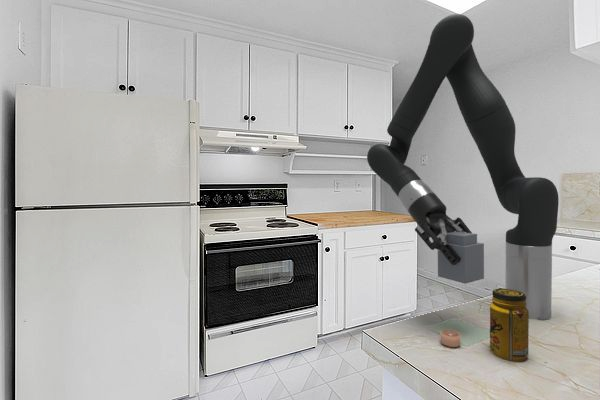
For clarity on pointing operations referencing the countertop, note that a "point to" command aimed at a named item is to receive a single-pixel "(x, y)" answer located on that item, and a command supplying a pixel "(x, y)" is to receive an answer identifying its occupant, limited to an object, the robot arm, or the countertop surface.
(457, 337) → the bowl
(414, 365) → the countertop surface
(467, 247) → the grey stepped block
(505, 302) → the condiment
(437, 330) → the mat
